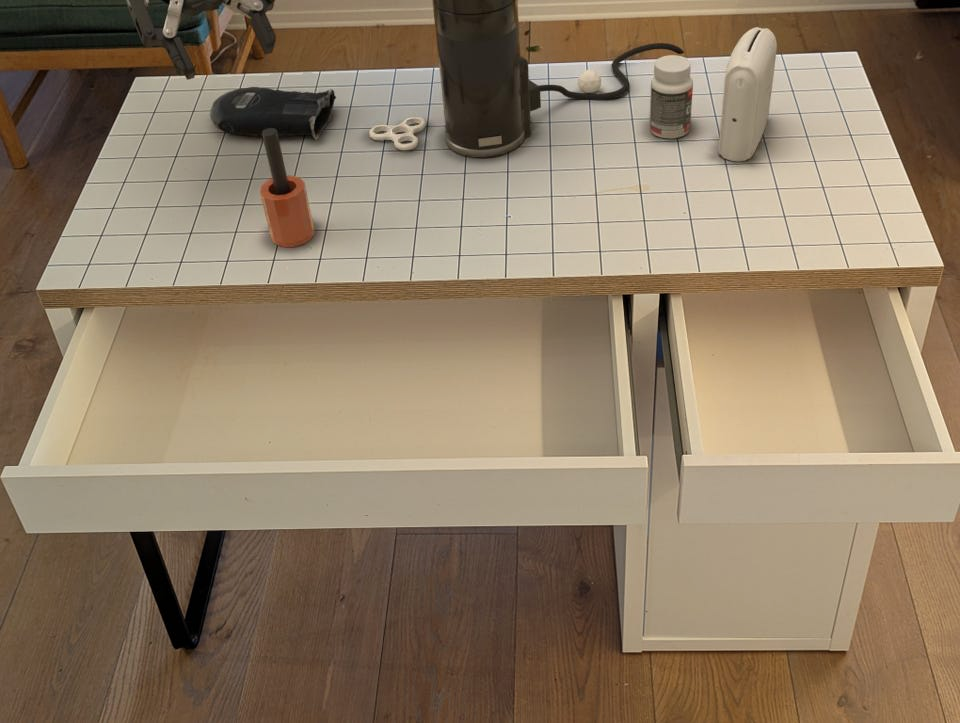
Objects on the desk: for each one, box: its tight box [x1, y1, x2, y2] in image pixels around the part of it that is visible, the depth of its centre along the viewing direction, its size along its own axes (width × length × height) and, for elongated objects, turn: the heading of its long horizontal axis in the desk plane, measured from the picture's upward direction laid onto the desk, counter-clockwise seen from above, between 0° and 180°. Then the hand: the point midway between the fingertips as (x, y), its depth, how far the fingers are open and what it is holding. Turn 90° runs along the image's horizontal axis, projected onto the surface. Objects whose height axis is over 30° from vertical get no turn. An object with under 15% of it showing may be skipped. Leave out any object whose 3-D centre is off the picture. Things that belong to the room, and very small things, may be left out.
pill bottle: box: [648, 54, 694, 139], centre depth 123 cm, size 5×5×8 cm
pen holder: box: [259, 174, 315, 248], centre depth 113 cm, size 5×5×6 cm
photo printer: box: [718, 26, 778, 162], centre depth 119 cm, size 10×4×12 cm, turn 157°
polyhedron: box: [577, 69, 602, 94], centre depth 133 cm, size 3×3×3 cm
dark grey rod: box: [261, 128, 290, 195], centre depth 111 cm, size 2×2×12 cm
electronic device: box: [209, 86, 337, 141], centre depth 133 cm, size 9×6×15 cm
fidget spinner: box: [368, 116, 427, 151], centre depth 128 cm, size 7×6×1 cm
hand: (231, 63), depth 109 cm, fingers open, 8 cm apart
